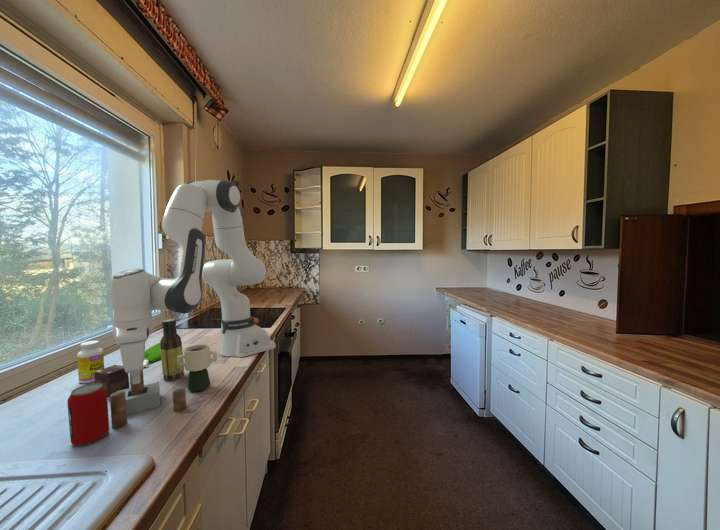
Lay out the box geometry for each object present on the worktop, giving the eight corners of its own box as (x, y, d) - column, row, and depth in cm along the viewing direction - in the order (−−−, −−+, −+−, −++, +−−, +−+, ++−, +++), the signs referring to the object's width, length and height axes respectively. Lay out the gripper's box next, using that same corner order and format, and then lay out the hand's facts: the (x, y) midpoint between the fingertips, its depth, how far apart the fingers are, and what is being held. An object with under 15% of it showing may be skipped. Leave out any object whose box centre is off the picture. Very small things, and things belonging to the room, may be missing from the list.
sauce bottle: (188, 373, 107) (184, 317, 106) (178, 381, 101) (174, 321, 99) (169, 374, 107) (165, 318, 105) (158, 382, 100) (154, 322, 99)
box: (130, 389, 96) (128, 366, 95) (109, 398, 90) (107, 374, 90) (116, 386, 98) (115, 364, 97) (95, 395, 92) (93, 371, 92)
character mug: (219, 380, 100) (217, 342, 100) (217, 389, 94) (215, 348, 93) (181, 386, 96) (178, 346, 96) (176, 397, 90) (174, 353, 89)
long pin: (145, 401, 88) (142, 364, 87) (145, 406, 85) (142, 367, 84) (132, 404, 86) (129, 366, 85) (131, 409, 83) (128, 370, 83)
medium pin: (127, 420, 78) (125, 389, 78) (126, 425, 76) (124, 394, 75) (112, 424, 76) (110, 393, 76) (111, 430, 74) (108, 398, 73)
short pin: (185, 404, 85) (184, 387, 85) (186, 409, 83) (185, 391, 82) (173, 408, 84) (172, 390, 83) (173, 413, 81) (172, 394, 81)
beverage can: (87, 430, 74) (83, 382, 73) (116, 428, 74) (113, 381, 74) (62, 449, 67) (57, 396, 66) (95, 447, 68) (91, 394, 67)
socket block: (159, 394, 91) (159, 381, 91) (160, 406, 85) (159, 392, 85) (117, 404, 86) (116, 391, 86) (114, 417, 79) (113, 402, 79)
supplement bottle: (89, 384, 99) (86, 346, 99) (73, 383, 101) (70, 345, 100) (110, 376, 106) (107, 339, 105) (94, 375, 107) (92, 339, 107)
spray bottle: (182, 347, 137) (151, 370, 112) (156, 349, 135) (119, 372, 111) (182, 341, 136) (151, 362, 112) (156, 342, 135) (119, 364, 111)
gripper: (123, 322, 91) (126, 367, 92) (114, 340, 74) (119, 394, 75) (148, 319, 95) (152, 362, 96) (146, 335, 78) (150, 387, 79)
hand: (137, 376), depth 85 cm, fingers open, 8 cm apart
